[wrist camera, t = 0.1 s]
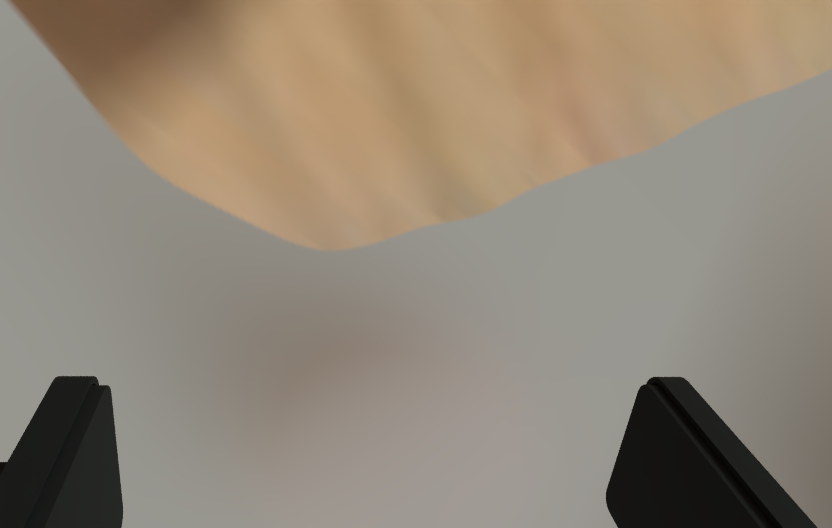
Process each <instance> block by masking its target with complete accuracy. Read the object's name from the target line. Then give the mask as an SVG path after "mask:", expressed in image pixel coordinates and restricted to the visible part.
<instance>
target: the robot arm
mask: <svg viewBox="0 0 832 528" xmlns="http://www.w3.org/2000/svg"><path fill="white" fill-rule="evenodd" d="M115 436H116V435H115V425H114V416H113V406H112V396H111V389H110V387H109V386H107V385H103V386H102V385H99V383H98V380H97V378H96V377H94V376H58V377H56V378H55V379H54V380H53V382H52V384H51V385H50V387H49V389H48V391H47V392H46V394H45V396H44V398H43V400H42V401H41V403H40V405H39V407H38V408H37V410H36V412H35V414H34V416H33V418H32V419H31V421H30V423H29V425H28V426H27V428H26V430H25V432H24V433H23V435H22V437H21V439H20V441H19V442H18V444H17V446H16V448H15V450H14V451H13V454H12V455H11V457H10V459H9V460H8V462H0V528H121V526H122V519H123V503H122V493H121V484H120V474H119V464H118V454H117V445H116V437H115ZM606 503H607V507H608V509H609V512H610V514H611V516H612V517H613V519H614V521H615V523H616V525H617V527H618V528H817V527H816V525H815V524H814V523H813V522H812V521H811V520H810V519H809V518H808V516H807V515H806V514H805V513H804V512H803V511H802V510H801V509H800V508H799V506H798V505H797V504H796V503H795V502H794V501H793V500H792V498H791V497H790V496H789V495H788V494H787V493H786V492H785V491H784V489H783V488H782V487H781V486H780V485H779V484H778V483H777V481H776V480H775V479H774V478H773V477H772V476H771V475H770V474H769V472H768V471H767V470H766V469H765V468H764V467H763V466H762V464H761V463H760V462H759V461H758V460H757V459H756V458H755V457H754V455H753V454H752V453H751V452H750V451H749V450H748V449H747V448H746V447H745V445H744V444H743V443H742V442H741V441H740V440H739V439H738V437H737V436H736V435H735V434H734V433H733V432H732V431H731V430H730V428H729V427H728V426H727V425H726V424H725V423H724V422H723V420H722V419H721V418H720V417H719V416H718V415H717V414H716V413H715V411H714V410H713V409H712V408H711V407H710V406H709V405H708V403H707V402H706V401H705V400H704V399H703V398H702V397H701V396H700V395H699V393H698V392H697V391H696V390H695V389H694V388H693V387H692V385H691V384H690V383H689V382H688V381H687V380H685V379H684V378H682V377H653V378H651V379H649V380H648V382H647V384H646V385H643V386H641V387H640V389H639V391H638V393H637V397H636V400H635V403H634V406H633V409H632V413H631V415H630V419H629V422H628V425H627V428H626V431H625V434H624V438H623V440H622V443H621V447H620V450H619V453H618V456H617V459H616V462H615V465H614V469H613V472H612V475H611V478H610V481H609V484H608V488H607V491H606Z"/></svg>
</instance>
